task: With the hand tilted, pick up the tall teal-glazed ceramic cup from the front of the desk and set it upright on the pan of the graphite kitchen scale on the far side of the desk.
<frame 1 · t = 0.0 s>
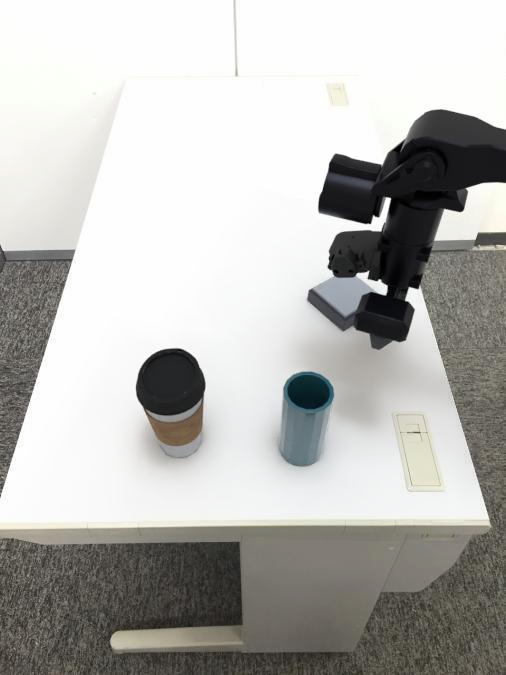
hand: (383, 323, 72), 12 cm above the table, tool pointing down, fingers open, 9 cm apart
scale: (344, 304, 91), on the table
coffee cup: (181, 439, 74), on the table
tumbler: (300, 446, 73), on the table
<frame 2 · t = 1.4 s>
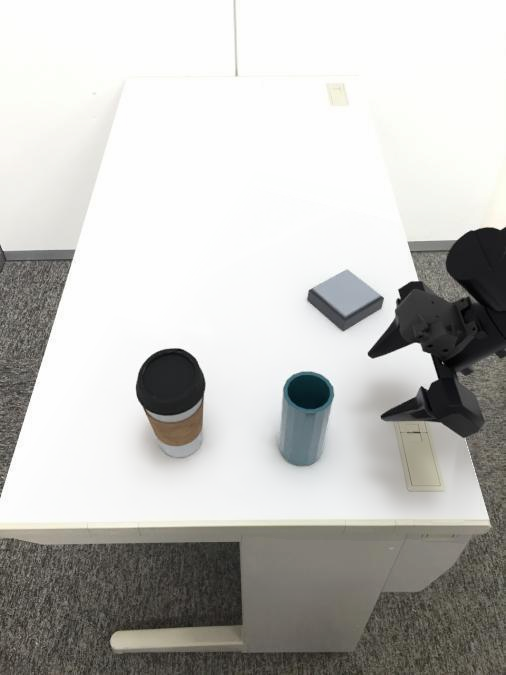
hand: (375, 385, 64), 13 cm above the table, tool tilted 45°, fingers open, 9 cm apart
nothing on the table moved.
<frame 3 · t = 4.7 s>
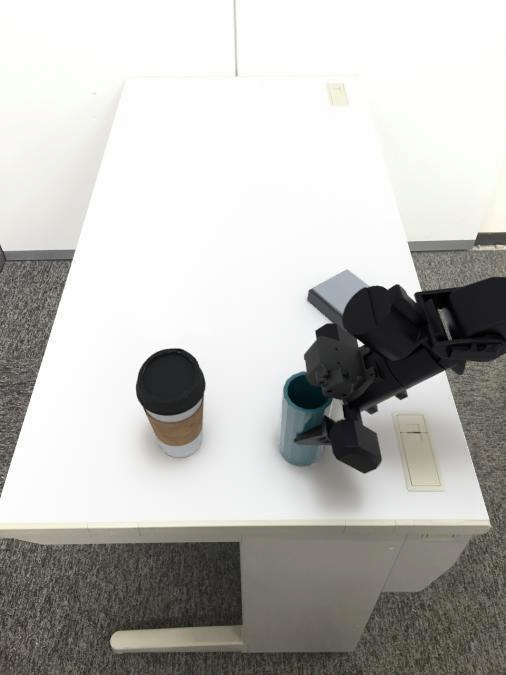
hand: (293, 420, 68), 7 cm above the table, tool tilted 45°, fingers closed on tumbler, 6 cm apart
tumbler: (300, 446, 73), on the table, touching gripper
everything else where it was.
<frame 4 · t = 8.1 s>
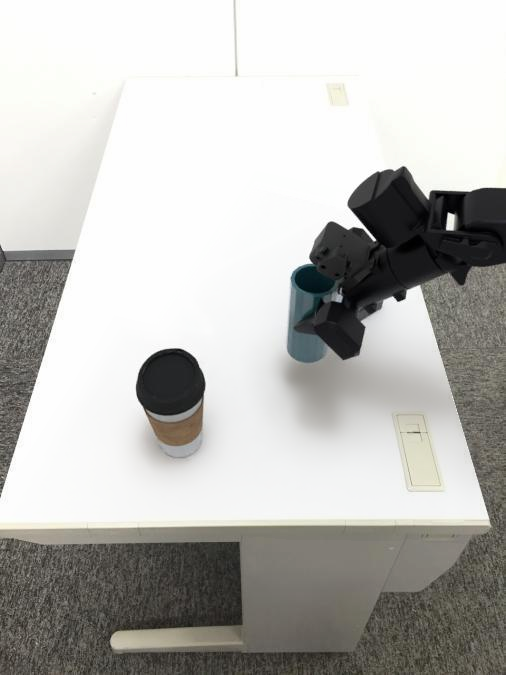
hand: (300, 312, 71), 13 cm above the table, tool tilted 45°, fingers closed on tumbler, 6 cm apart
tumbler: (307, 346, 76), point 7 cm above the table, touching gripper
everything else where it was.
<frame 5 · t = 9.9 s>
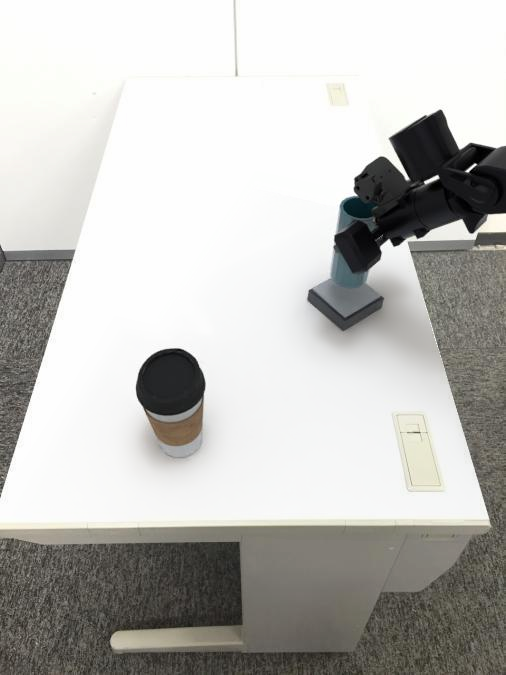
hand: (347, 239, 81), 13 cm above the table, tool tilted 45°, fingers closed on tumbler, 6 cm apart
tumbler: (348, 275, 86), point 7 cm above the table, touching gripper
everything else where it was.
when the fingers open (10 cm above the table, at t = 11.8 s): tumbler stays where it is, resting on scale.
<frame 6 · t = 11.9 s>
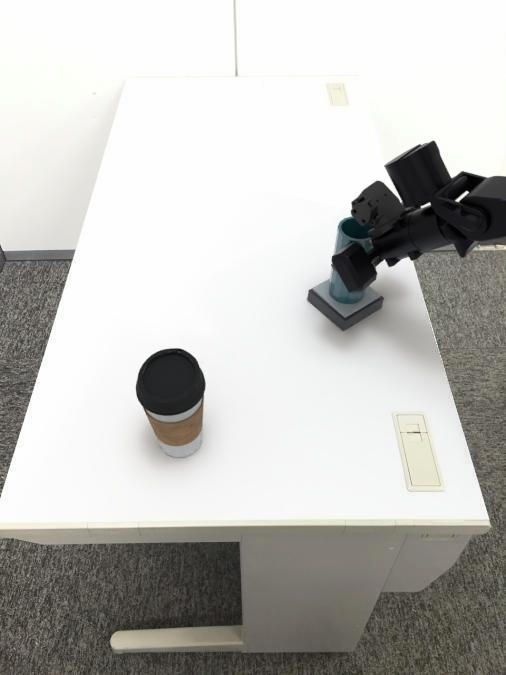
hand: (345, 257, 85), 10 cm above the table, tool tilted 45°, fingers open, 6 cm apart
tumbler: (346, 291, 89), point 3 cm above the table, touching scale
everything else where it was.
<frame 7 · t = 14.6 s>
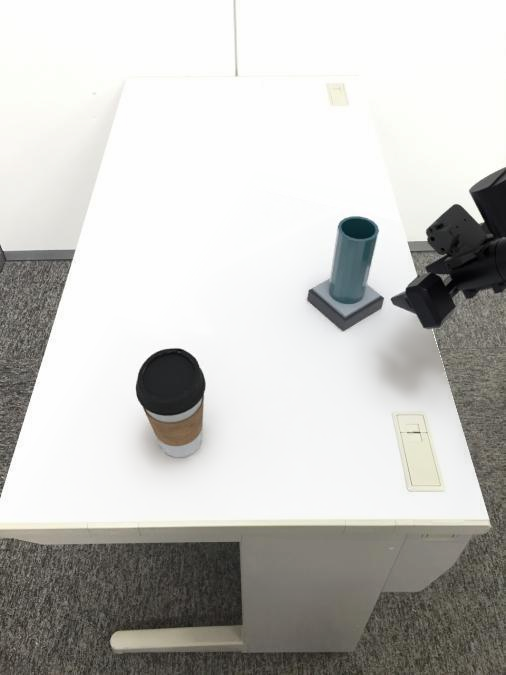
hand: (410, 285, 77), 12 cm above the table, tool tilted 45°, fingers open, 9 cm apart
nothing on the table moved.
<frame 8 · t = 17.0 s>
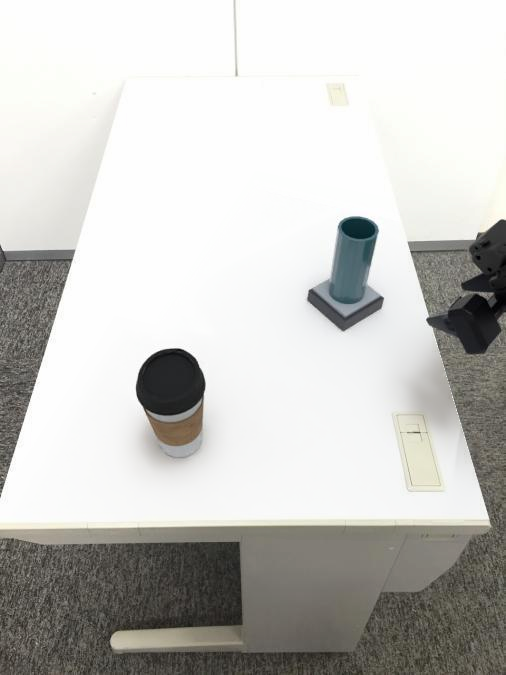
hand: (445, 303, 72), 14 cm above the table, tool tilted 45°, fingers open, 9 cm apart
nothing on the table moved.
at the end: tumbler 0.0 cm off-centre on the scale, point 3.0 cm above the scale's base; tumbler tilted 0°; the gripper is holding nothing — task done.
